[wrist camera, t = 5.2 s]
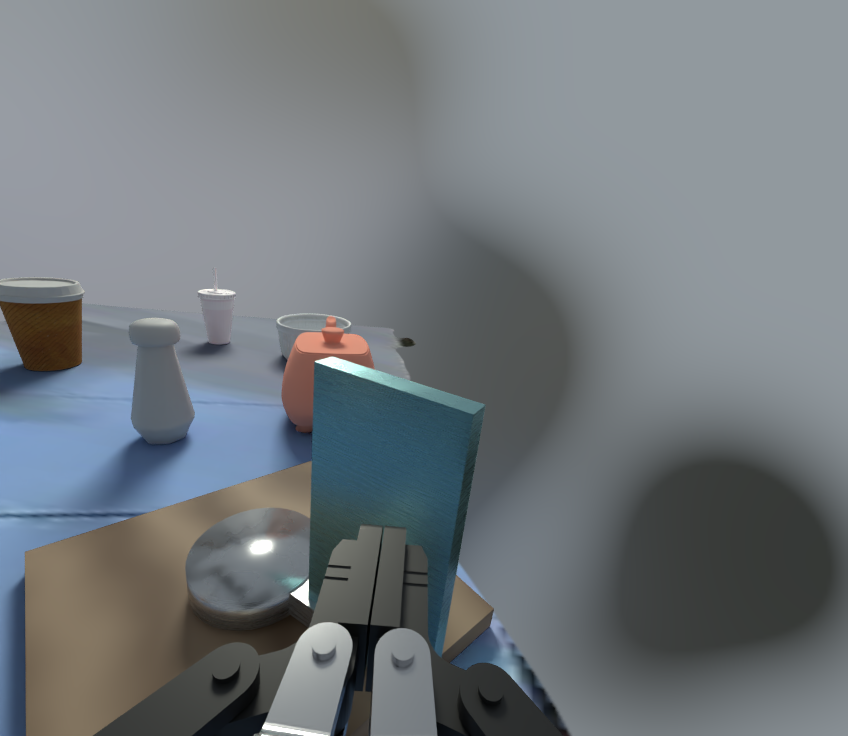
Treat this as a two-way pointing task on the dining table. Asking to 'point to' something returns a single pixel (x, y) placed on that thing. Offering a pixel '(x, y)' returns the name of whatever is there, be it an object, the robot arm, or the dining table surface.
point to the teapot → (302, 367)
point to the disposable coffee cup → (44, 320)
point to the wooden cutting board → (157, 611)
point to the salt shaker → (159, 383)
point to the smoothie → (217, 312)
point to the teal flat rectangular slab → (348, 501)
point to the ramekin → (303, 328)
